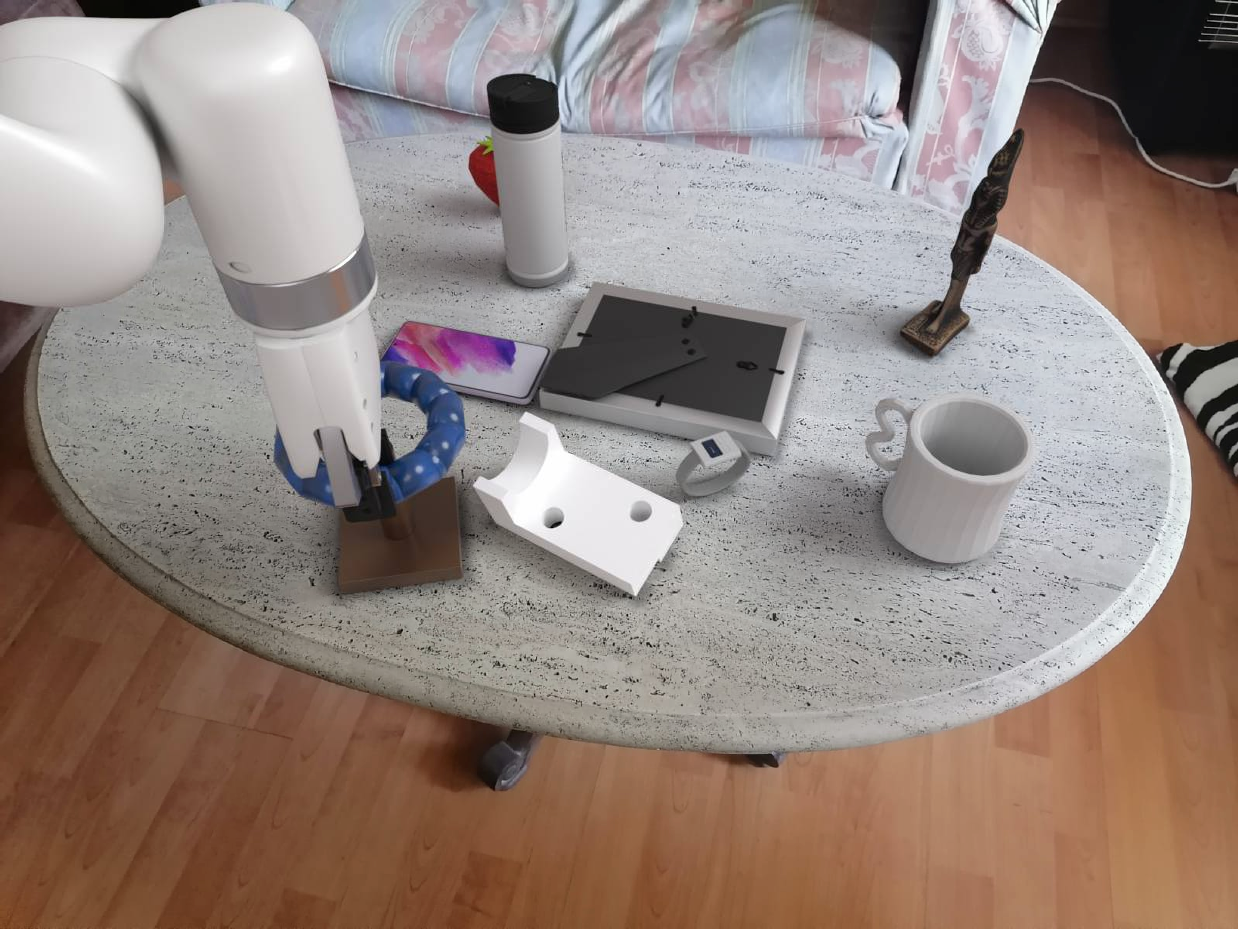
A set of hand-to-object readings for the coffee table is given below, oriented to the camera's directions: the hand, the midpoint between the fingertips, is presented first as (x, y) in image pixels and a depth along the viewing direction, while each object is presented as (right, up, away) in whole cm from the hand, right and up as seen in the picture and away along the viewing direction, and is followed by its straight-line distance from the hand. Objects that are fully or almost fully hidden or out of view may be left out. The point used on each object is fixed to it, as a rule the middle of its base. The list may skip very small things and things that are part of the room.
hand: (372, 493), depth 62 cm
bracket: (+13, -4, +12) cm, 19 cm away
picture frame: (+21, +10, +24) cm, 34 cm away
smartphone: (+2, +11, +25) cm, 27 cm away
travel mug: (+8, +22, +34) cm, 41 cm away
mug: (+40, -2, +14) cm, 43 cm away
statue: (+46, +14, +28) cm, 56 cm away
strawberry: (+4, +29, +41) cm, 51 cm away
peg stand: (-1, -4, +12) cm, 13 cm away
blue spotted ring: (-1, +4, +3) cm, 5 cm away
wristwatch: (+24, 0, +15) cm, 28 cm away
